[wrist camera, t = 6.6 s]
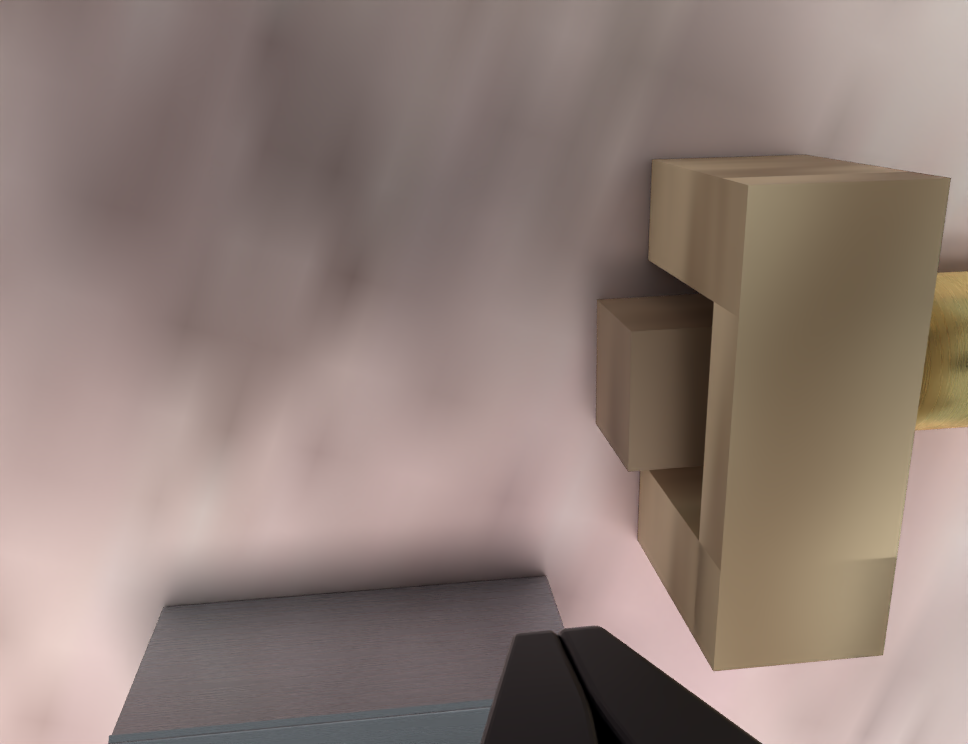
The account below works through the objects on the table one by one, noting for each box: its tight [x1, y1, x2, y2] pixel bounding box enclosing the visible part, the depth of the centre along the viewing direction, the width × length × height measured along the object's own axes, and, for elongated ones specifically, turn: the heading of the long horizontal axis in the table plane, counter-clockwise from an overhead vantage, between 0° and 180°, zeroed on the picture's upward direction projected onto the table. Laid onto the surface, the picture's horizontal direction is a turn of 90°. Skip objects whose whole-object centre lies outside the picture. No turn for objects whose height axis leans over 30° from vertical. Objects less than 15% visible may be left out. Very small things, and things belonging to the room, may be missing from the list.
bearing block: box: [638, 155, 951, 671], centre depth 16 cm, size 3×8×4 cm, turn 1°
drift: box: [596, 294, 714, 472], centre depth 17 cm, size 5×3×3 cm, turn 91°
